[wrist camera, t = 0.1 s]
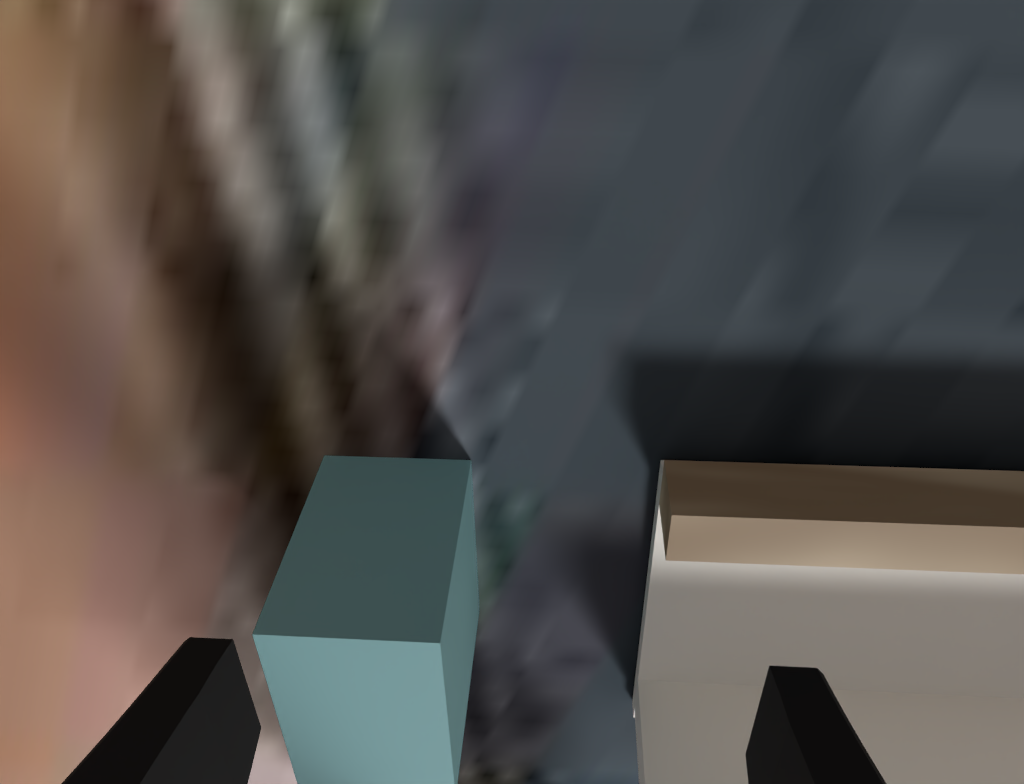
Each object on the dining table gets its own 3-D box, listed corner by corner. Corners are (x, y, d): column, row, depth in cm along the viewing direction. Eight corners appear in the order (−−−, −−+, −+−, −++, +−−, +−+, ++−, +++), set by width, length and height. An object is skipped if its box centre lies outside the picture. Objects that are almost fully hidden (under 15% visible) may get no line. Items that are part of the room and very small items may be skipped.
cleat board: (1195, 729, 26) (1326, 921, 22) (632, 701, 27) (643, 877, 23) (1406, 467, 20) (1653, 661, 15) (662, 445, 21) (685, 618, 16)
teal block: (479, 608, 25) (455, 797, 20) (352, 602, 26) (298, 788, 21) (471, 458, 22) (440, 642, 17) (324, 454, 22) (252, 634, 17)
